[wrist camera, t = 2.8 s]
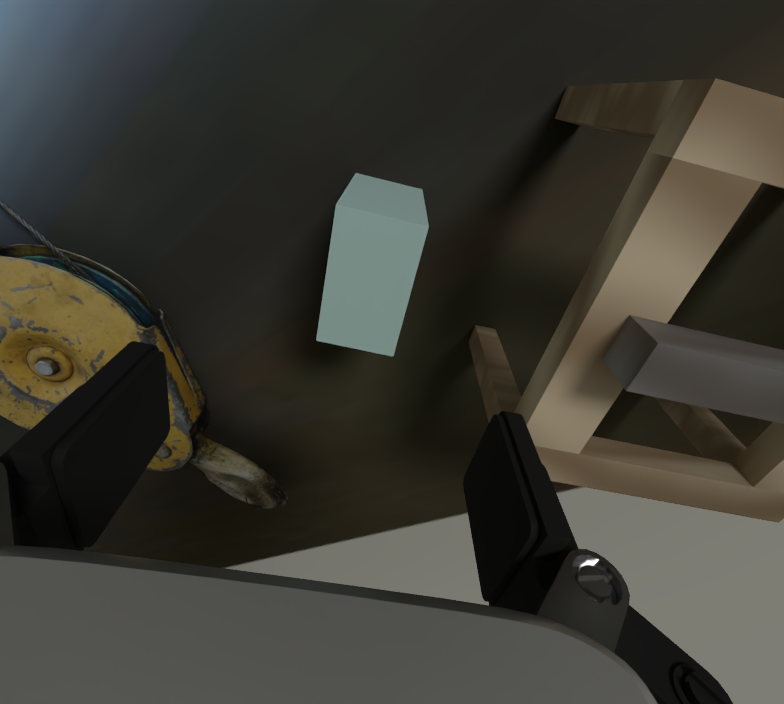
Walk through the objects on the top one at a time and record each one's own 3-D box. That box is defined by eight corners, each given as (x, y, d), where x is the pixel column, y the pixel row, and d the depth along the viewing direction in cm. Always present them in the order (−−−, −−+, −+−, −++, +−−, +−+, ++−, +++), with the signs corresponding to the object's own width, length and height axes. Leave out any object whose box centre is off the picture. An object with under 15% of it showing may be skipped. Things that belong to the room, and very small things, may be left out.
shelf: (567, 86, 21) (772, 75, 9) (819, 157, 23) (1276, 226, 11) (468, 342, 30) (510, 507, 18) (656, 382, 31) (811, 560, 19)
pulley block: (209, 574, 36) (-200, 333, 23) (227, 520, 41) (-101, 299, 29) (332, 493, 33) (-61, 170, 20) (334, 446, 38) (21, 165, 26)
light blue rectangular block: (355, 173, 24) (335, 204, 17) (422, 189, 24) (428, 226, 17) (338, 279, 27) (316, 340, 20) (396, 292, 28) (393, 356, 21)
